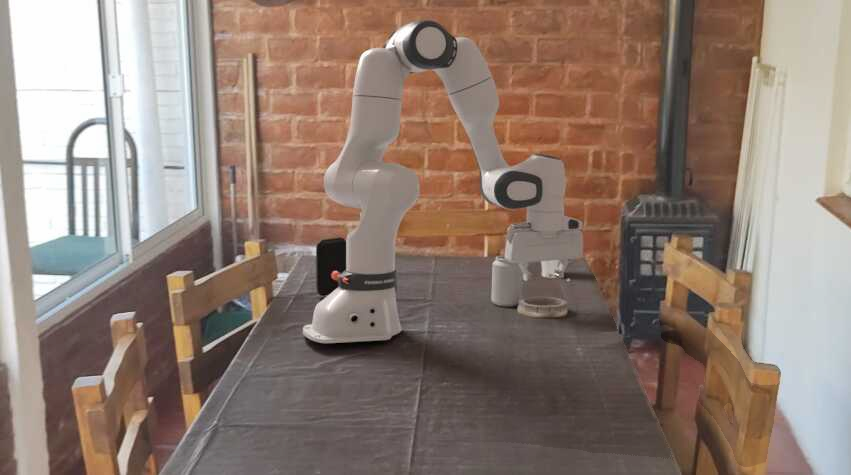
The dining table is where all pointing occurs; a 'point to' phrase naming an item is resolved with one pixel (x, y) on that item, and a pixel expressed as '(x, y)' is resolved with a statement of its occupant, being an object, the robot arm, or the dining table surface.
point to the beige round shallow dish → (542, 307)
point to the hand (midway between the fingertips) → (543, 278)
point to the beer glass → (549, 268)
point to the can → (506, 282)
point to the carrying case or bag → (329, 263)
